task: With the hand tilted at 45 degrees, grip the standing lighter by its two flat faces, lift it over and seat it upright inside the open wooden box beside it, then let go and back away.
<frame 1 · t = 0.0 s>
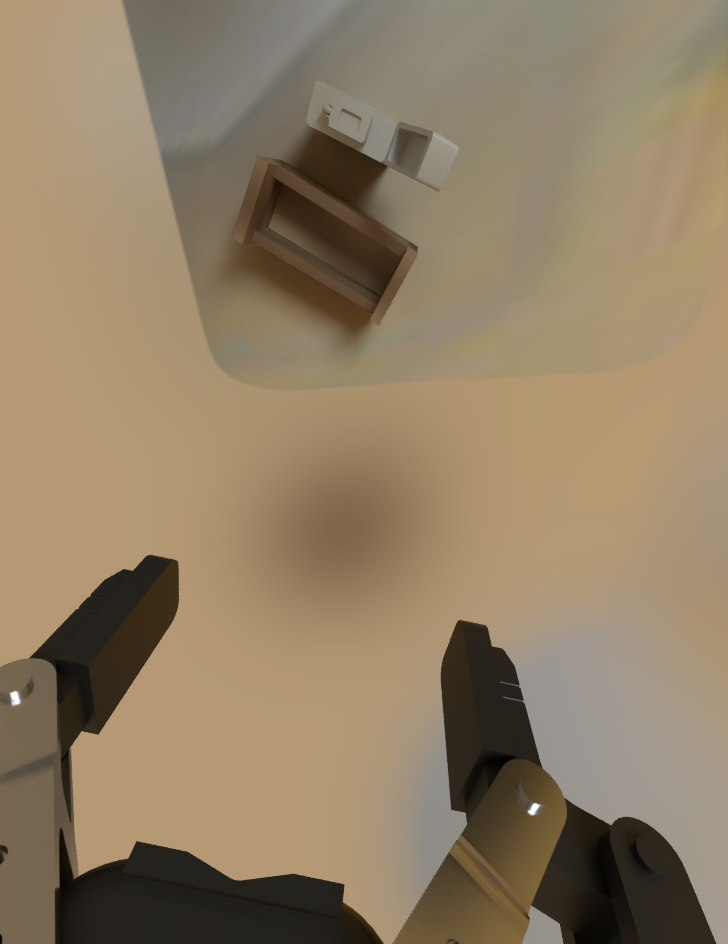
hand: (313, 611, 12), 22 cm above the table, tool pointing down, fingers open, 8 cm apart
open wooden box: (336, 238, 27), on the table
lighter: (386, 144, 24), on the table
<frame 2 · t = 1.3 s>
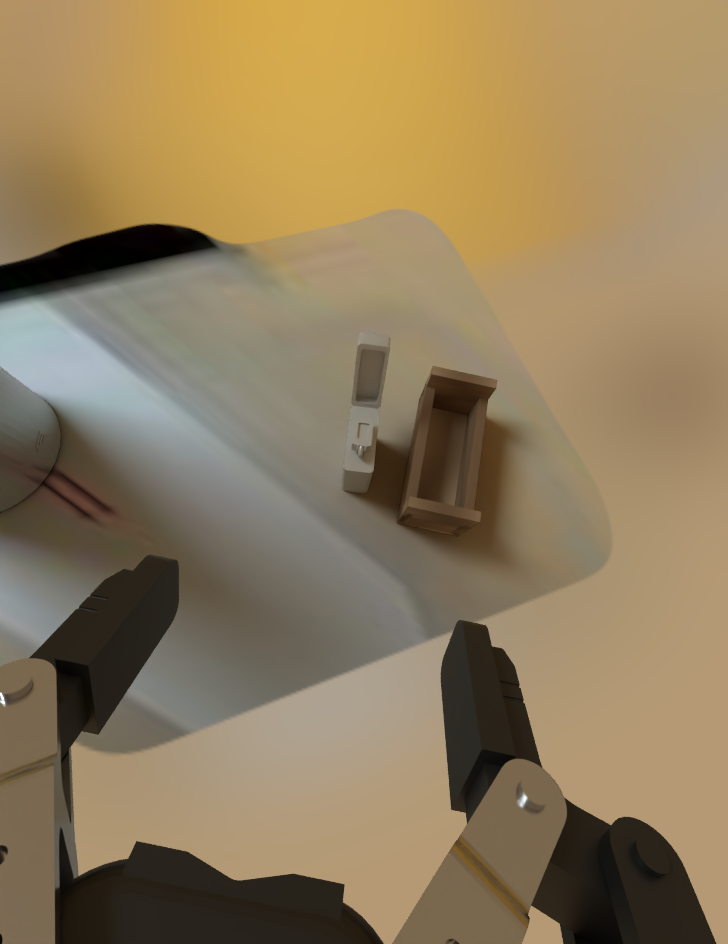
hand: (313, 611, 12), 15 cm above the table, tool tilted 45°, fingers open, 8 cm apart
open wooden box: (437, 464, 30), on the table
lighter: (360, 444, 30), on the table
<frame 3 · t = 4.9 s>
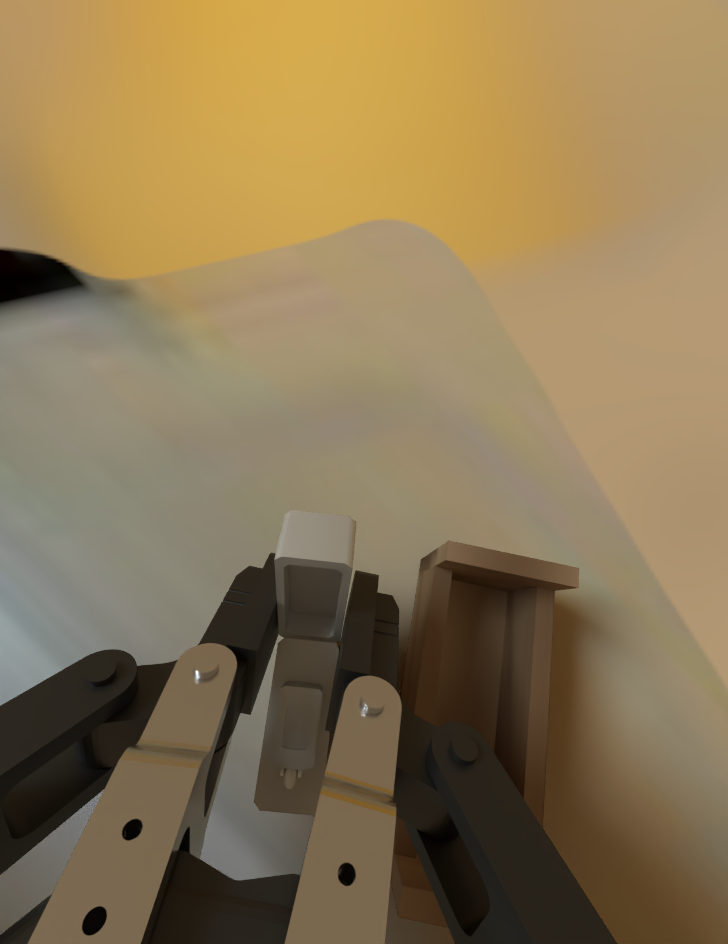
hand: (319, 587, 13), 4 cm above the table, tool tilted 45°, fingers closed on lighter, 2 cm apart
open wooden box: (456, 693, 16), on the table
lighter: (312, 650, 16), on the table, touching gripper
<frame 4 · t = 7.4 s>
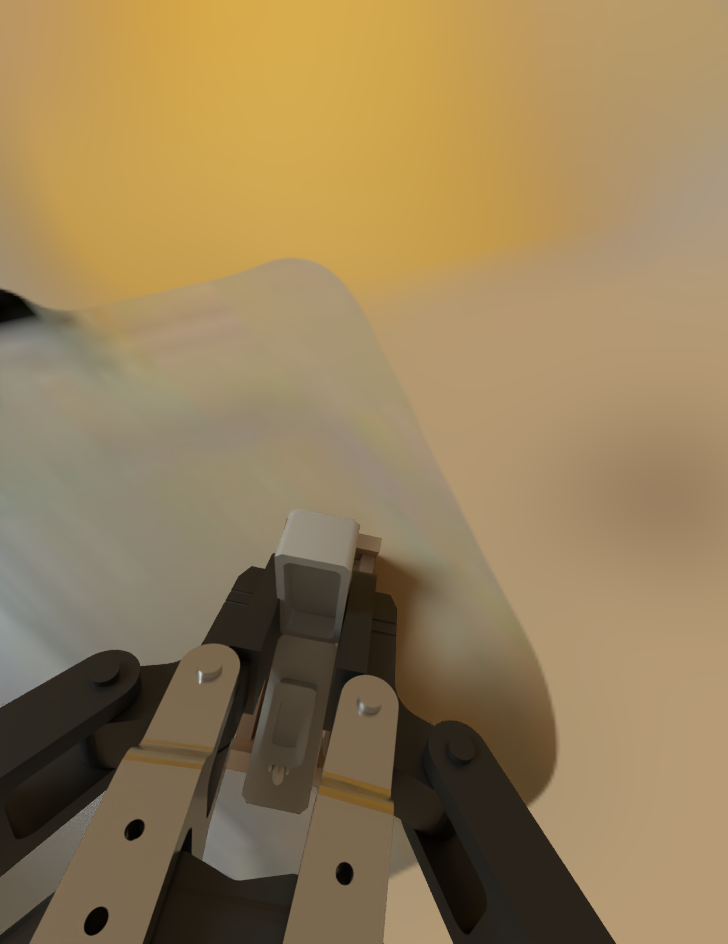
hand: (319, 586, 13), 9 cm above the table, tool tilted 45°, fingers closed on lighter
open wooden box: (313, 636, 21), on the table
lighter: (315, 649, 16), point 5 cm above the table, touching gripper
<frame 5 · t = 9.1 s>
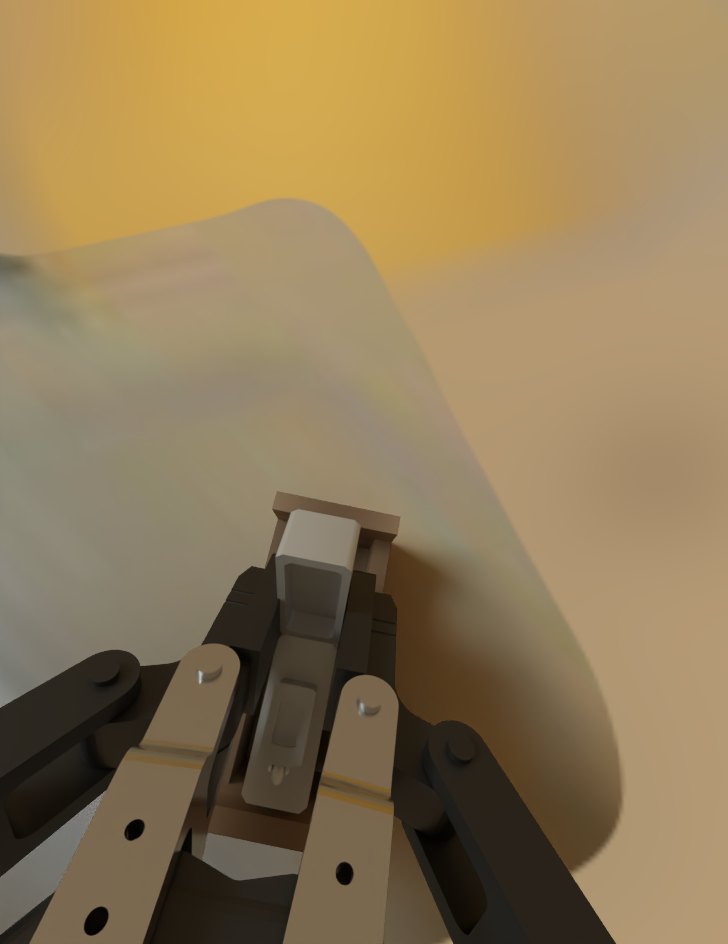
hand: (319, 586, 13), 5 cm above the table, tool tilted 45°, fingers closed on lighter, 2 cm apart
open wooden box: (312, 644, 17), on the table
lighter: (314, 649, 16), resting on open wooden box, touching gripper
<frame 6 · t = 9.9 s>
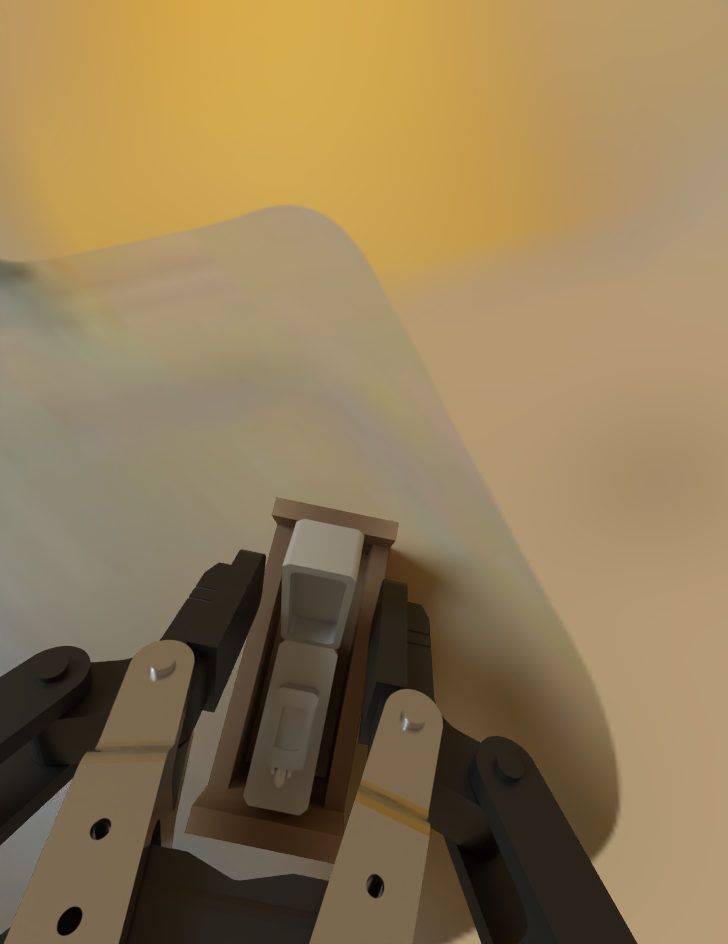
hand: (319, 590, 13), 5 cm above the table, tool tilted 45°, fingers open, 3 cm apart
open wooden box: (311, 648, 17), on the table
lighter: (312, 653, 17), resting on open wooden box
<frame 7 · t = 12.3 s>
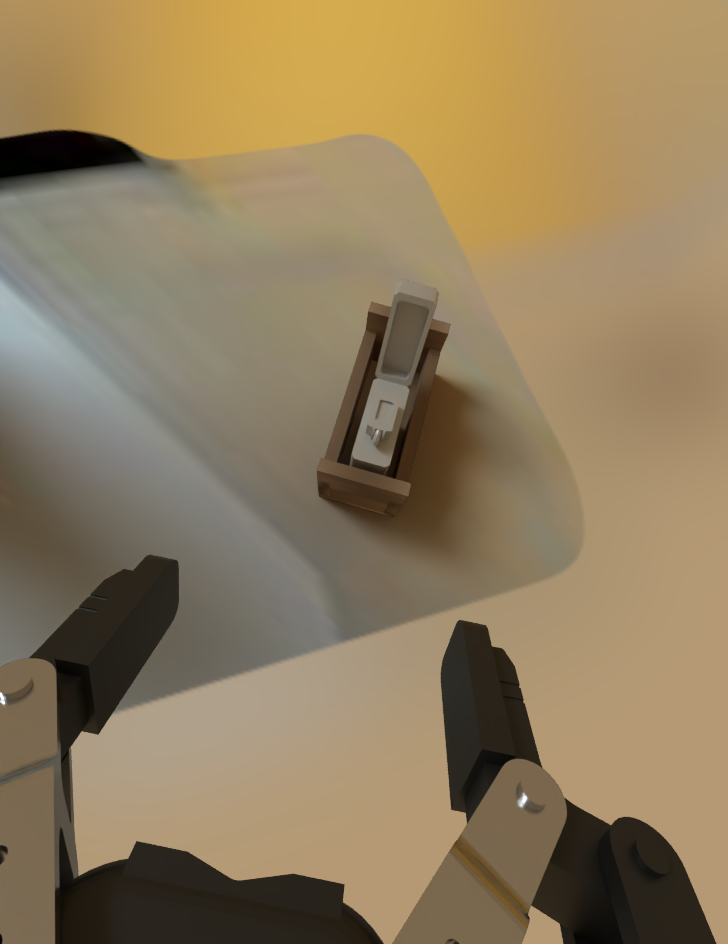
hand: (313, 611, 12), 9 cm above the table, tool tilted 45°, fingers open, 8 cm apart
open wooden box: (377, 429, 24), on the table
lighter: (378, 430, 24), resting on open wooden box
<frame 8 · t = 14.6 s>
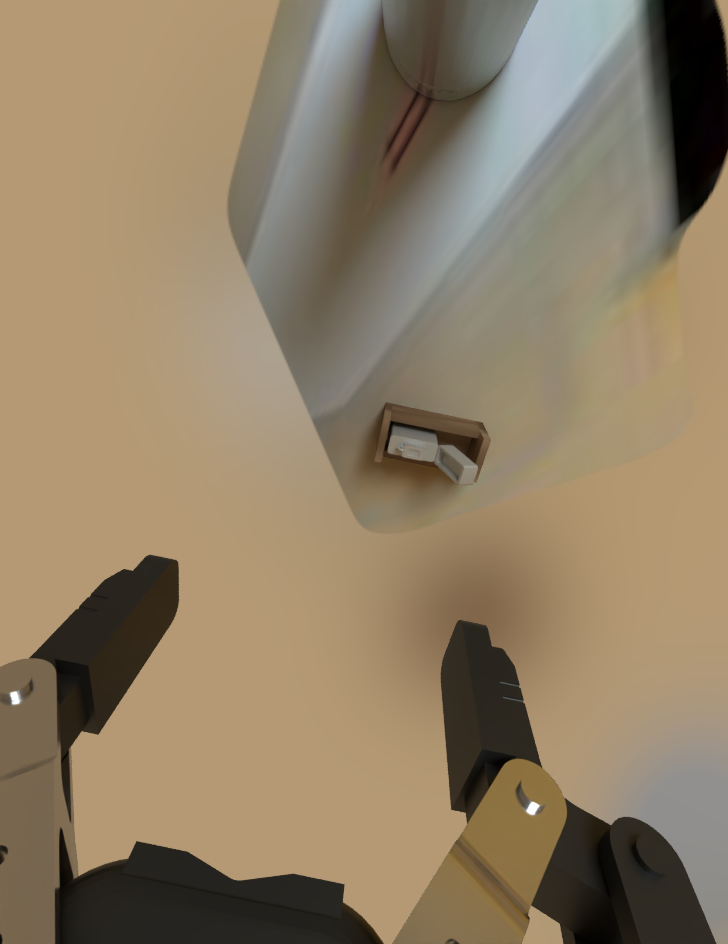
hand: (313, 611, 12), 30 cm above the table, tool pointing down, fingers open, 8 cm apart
open wooden box: (428, 432, 41), on the table
lighter: (427, 433, 41), resting on open wooden box
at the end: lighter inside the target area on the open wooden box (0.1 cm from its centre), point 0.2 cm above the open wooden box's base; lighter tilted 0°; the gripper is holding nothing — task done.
